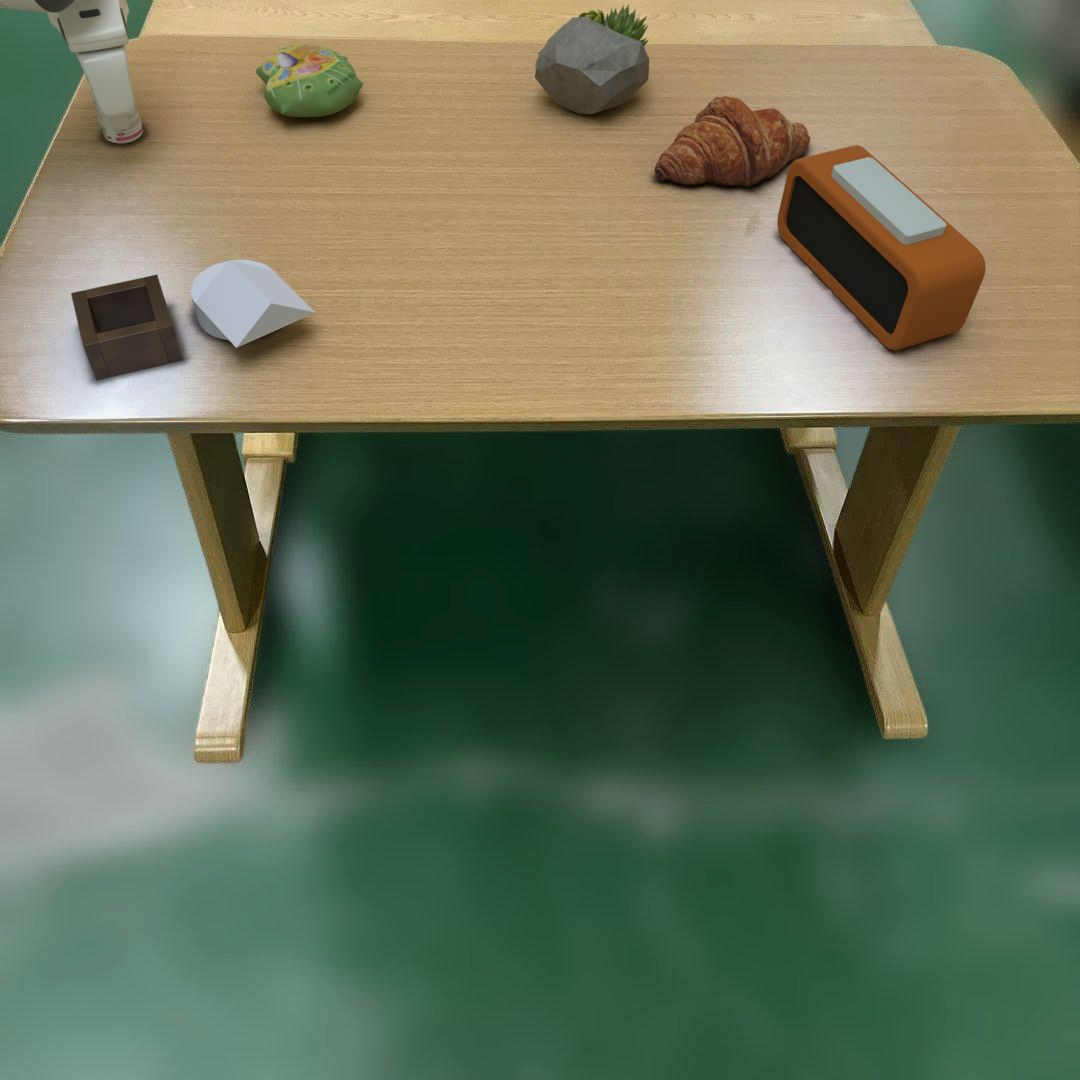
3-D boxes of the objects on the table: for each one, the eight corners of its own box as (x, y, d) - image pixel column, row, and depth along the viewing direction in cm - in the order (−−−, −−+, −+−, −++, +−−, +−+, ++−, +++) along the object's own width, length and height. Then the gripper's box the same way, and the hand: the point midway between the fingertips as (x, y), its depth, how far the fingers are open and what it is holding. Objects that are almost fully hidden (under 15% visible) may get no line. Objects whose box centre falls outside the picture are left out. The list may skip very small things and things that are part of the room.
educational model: (345, 61, 151) (341, 21, 147) (374, 121, 141) (370, 81, 137) (252, 75, 148) (244, 35, 144) (275, 137, 138) (268, 96, 134)
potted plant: (513, 75, 143) (574, 1, 147) (582, 148, 147) (639, 74, 152) (557, 34, 132) (621, -45, 137) (630, 114, 137) (690, 35, 141)
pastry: (698, 115, 144) (706, 56, 138) (811, 145, 140) (826, 85, 134) (650, 181, 134) (657, 120, 128) (771, 215, 131) (785, 154, 124)
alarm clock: (772, 231, 129) (792, 142, 120) (832, 215, 131) (856, 127, 122) (895, 359, 115) (928, 269, 106) (959, 339, 117) (997, 249, 109)
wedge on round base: (319, 338, 115) (257, 275, 121) (311, 285, 110) (246, 222, 116) (242, 373, 111) (182, 306, 117) (229, 321, 106) (167, 253, 112)
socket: (96, 380, 110) (82, 345, 107) (83, 327, 115) (70, 292, 111) (183, 359, 112) (172, 325, 109) (167, 308, 117) (157, 274, 114)
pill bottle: (149, 126, 139) (132, 61, 133) (134, 146, 136) (115, 81, 130) (113, 121, 140) (94, 57, 133) (97, 142, 137) (77, 77, 130)
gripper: (45, -35, 130) (79, 77, 141) (68, 46, 119) (104, 161, 129) (100, -43, 132) (130, 69, 143) (128, 36, 120) (159, 151, 131)
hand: (118, 114), depth 136 cm, fingers closed on pill bottle, 5 cm apart
